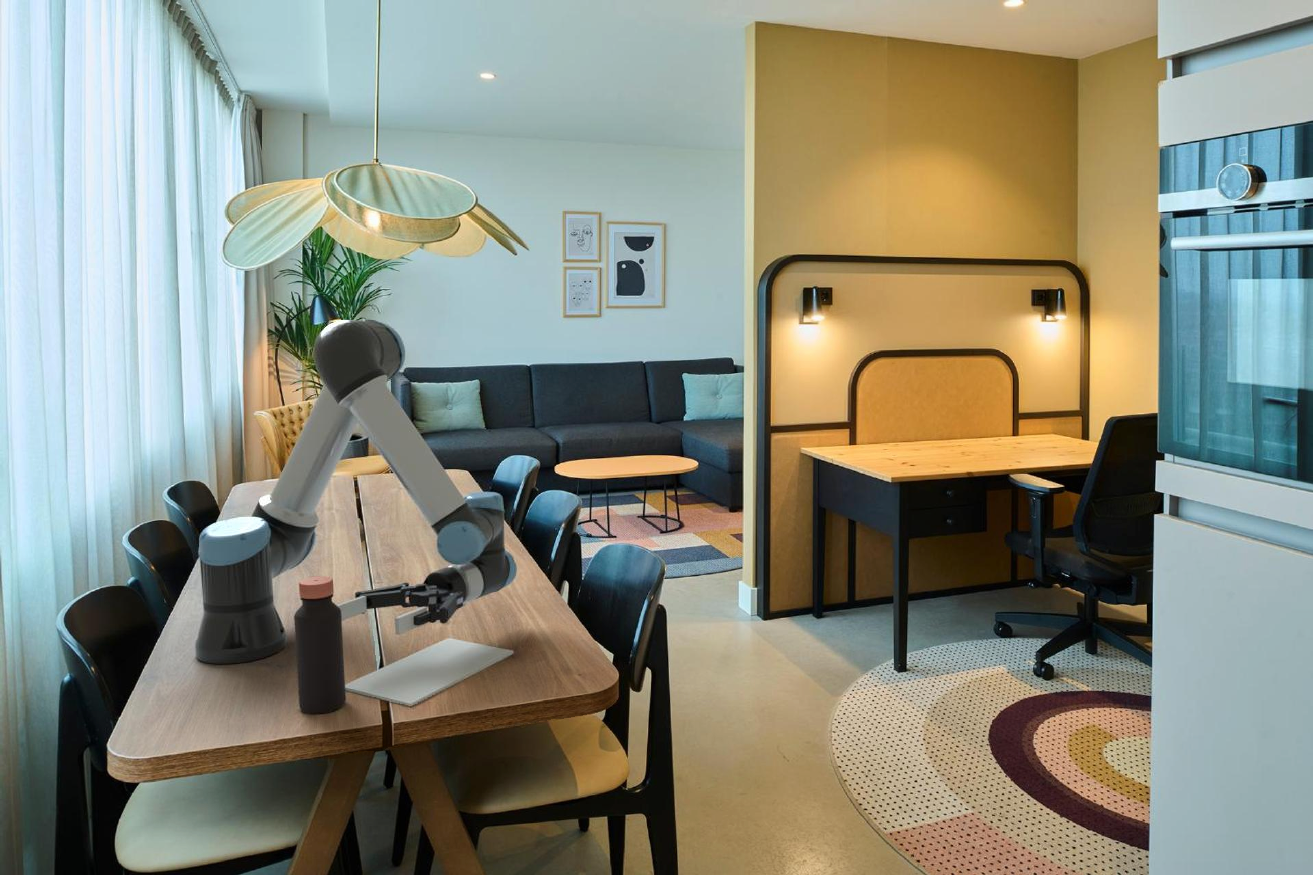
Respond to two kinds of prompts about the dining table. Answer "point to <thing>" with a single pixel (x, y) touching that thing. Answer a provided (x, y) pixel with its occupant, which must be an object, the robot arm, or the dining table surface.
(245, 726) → the dining table surface
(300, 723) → the dining table surface
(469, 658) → the mat
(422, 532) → the dining table surface
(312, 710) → the vinegar
